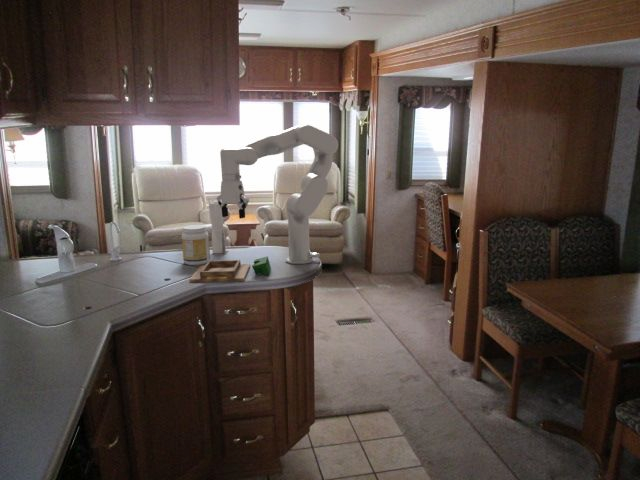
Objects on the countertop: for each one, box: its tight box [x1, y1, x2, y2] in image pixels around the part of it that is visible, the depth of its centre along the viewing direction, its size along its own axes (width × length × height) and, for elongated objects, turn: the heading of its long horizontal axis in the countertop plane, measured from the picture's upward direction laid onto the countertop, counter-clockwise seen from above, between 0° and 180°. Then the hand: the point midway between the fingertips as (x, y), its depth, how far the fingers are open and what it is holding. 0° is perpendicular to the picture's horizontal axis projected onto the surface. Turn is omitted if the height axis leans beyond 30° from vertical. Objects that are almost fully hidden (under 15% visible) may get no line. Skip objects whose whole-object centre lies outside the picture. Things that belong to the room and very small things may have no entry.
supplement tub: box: [181, 224, 211, 266], centre depth 229 cm, size 12×12×17 cm
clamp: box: [251, 256, 272, 277], centre depth 211 cm, size 12×6×9 cm, turn 175°
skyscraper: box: [207, 197, 229, 255], centre depth 246 cm, size 8×8×28 cm
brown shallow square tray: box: [189, 259, 251, 283], centre depth 210 cm, size 22×22×4 cm
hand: (233, 217), depth 214 cm, fingers open, 9 cm apart
